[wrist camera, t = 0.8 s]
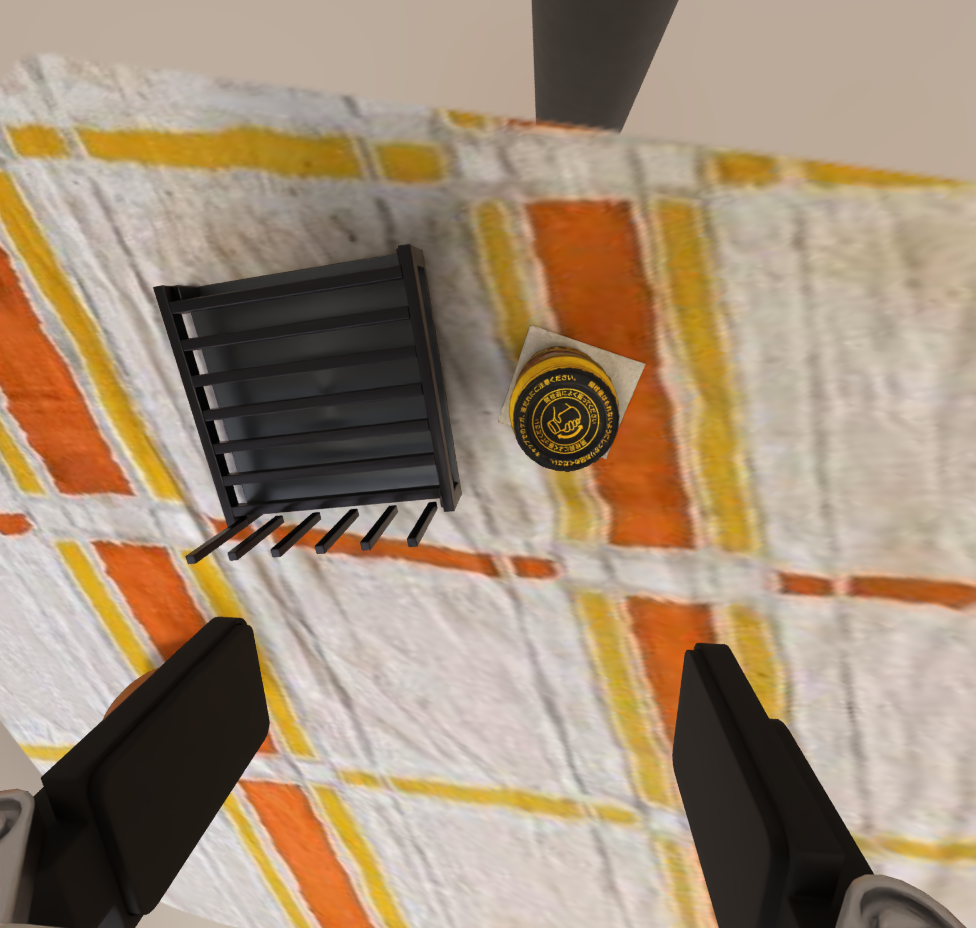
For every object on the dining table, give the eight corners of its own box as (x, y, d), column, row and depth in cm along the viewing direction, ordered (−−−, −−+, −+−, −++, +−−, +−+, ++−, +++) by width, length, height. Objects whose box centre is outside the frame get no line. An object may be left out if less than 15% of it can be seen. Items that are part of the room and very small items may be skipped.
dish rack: (187, 289, 36) (70, 281, 27) (422, 250, 33) (379, 227, 24) (253, 513, 41) (172, 569, 32) (462, 494, 38) (437, 549, 30)
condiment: (530, 324, 34) (523, 331, 23) (645, 363, 34) (696, 390, 23) (498, 421, 36) (477, 471, 25) (605, 457, 36) (633, 524, 25)
